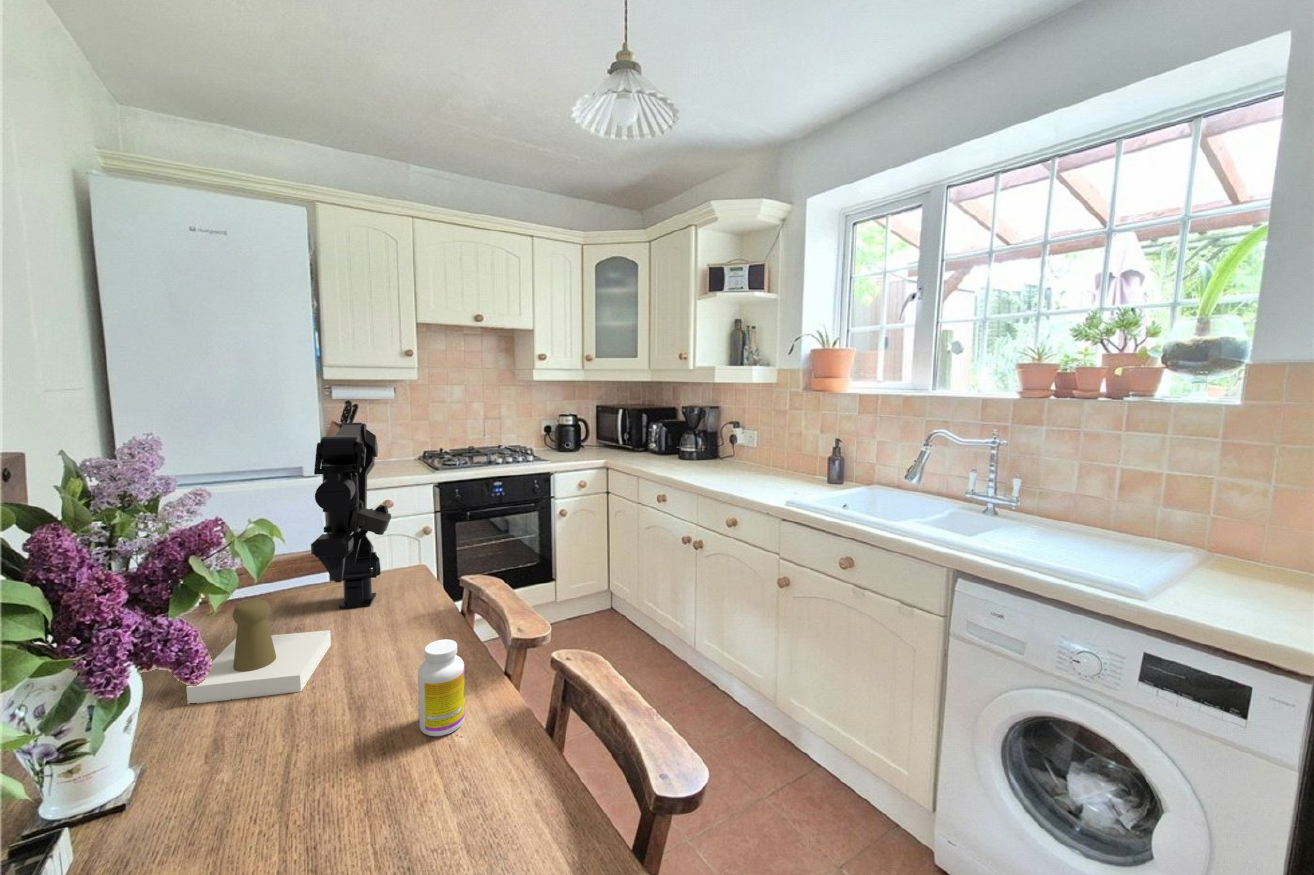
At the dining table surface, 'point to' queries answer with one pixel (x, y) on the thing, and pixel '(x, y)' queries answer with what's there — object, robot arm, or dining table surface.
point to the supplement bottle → (441, 689)
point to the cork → (253, 636)
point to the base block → (264, 670)
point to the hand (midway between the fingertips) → (345, 573)
